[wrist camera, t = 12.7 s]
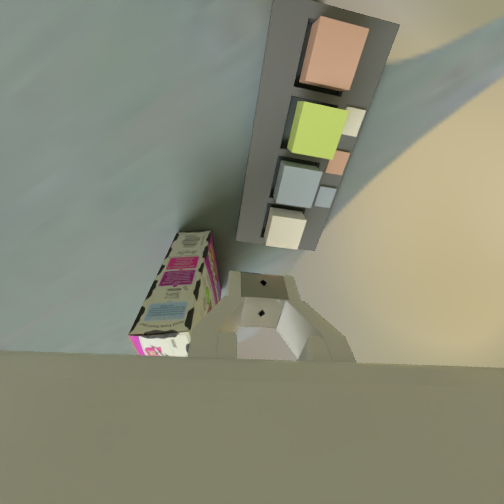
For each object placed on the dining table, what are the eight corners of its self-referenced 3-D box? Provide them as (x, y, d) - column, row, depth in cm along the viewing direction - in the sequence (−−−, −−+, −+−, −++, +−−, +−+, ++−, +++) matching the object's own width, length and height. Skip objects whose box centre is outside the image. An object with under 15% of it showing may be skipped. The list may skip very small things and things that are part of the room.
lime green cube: (295, 100, 22) (304, 101, 19) (335, 109, 23) (349, 110, 20) (285, 146, 24) (291, 152, 22) (321, 152, 25) (332, 160, 22)
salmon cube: (309, 27, 21) (320, 15, 18) (351, 38, 21) (369, 28, 18) (296, 82, 23) (305, 80, 20) (335, 91, 23) (349, 90, 20)
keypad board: (273, -5, 20) (275, -12, 18) (392, 28, 21) (402, 23, 20) (235, 236, 32) (235, 242, 31) (312, 246, 34) (315, 252, 32)
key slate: (279, 158, 26) (285, 165, 24) (313, 164, 27) (322, 172, 24) (272, 192, 29) (275, 203, 26) (303, 197, 29) (310, 208, 26)
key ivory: (269, 204, 29) (272, 215, 26) (300, 208, 30) (306, 220, 27) (263, 232, 32) (265, 245, 29) (291, 235, 32) (297, 249, 29)
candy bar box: (174, 231, 31) (123, 334, 18) (211, 228, 31) (190, 330, 18) (190, 293, 37) (162, 406, 24) (222, 291, 37) (212, 402, 24)
